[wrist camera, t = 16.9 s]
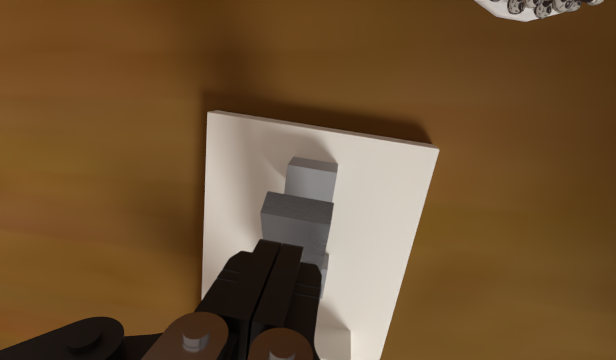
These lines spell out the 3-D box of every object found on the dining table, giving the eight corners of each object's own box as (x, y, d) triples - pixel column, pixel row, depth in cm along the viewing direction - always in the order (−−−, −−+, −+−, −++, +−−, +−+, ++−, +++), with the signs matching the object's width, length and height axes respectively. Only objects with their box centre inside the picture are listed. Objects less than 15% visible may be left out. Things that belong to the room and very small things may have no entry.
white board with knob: (433, 144, 20) (455, 161, 16) (354, 428, 29) (355, 486, 25) (216, 110, 21) (184, 117, 17) (204, 394, 30) (182, 444, 26)
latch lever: (341, 202, 13) (337, 228, 13) (321, 288, 21) (318, 309, 20) (261, 188, 14) (252, 213, 13) (269, 278, 21) (263, 298, 20)
